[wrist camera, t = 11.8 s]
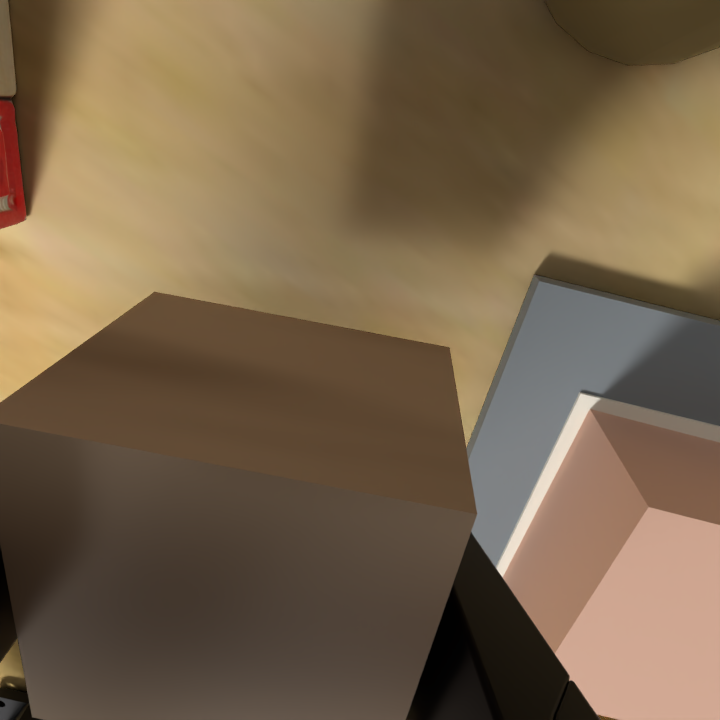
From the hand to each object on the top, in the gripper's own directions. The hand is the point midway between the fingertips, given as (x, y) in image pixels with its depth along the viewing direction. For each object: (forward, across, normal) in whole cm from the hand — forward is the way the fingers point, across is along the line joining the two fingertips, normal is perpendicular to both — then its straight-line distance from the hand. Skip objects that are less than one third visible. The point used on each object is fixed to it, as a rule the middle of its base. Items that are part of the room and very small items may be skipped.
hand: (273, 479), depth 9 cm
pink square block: (+6, -11, +4) cm, 13 cm away
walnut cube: (+1, 0, 0) cm, 1 cm away
